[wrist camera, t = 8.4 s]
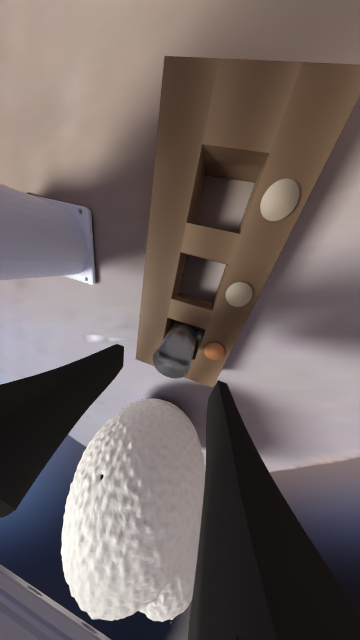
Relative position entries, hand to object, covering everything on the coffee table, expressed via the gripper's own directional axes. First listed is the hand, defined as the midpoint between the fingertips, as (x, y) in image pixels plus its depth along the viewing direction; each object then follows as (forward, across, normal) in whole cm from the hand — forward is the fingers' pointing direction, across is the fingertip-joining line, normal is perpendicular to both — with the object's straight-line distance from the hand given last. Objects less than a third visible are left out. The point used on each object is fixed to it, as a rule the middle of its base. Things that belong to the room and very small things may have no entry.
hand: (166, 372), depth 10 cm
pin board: (+8, 0, -6) cm, 10 cm away
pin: (+8, 0, 0) cm, 8 cm away
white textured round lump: (+8, -1, +18) cm, 20 cm away
